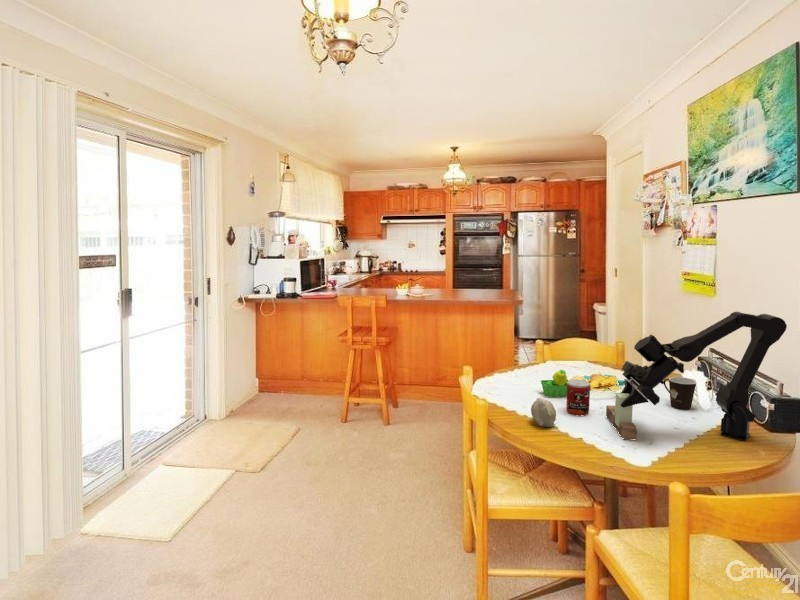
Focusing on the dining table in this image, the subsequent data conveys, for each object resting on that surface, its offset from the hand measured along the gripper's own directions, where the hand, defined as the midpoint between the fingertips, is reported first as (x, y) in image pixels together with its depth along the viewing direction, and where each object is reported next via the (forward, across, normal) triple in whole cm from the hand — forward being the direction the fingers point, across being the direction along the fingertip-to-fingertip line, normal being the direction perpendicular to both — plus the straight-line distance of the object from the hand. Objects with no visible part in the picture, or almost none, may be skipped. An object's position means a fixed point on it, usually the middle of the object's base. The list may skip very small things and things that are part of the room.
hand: (619, 404), depth 153 cm
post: (+4, 0, +6) cm, 7 cm away
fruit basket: (+16, -33, -3) cm, 36 cm away
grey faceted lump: (+23, -3, -10) cm, 25 cm away
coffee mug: (-14, -26, +27) cm, 39 cm away
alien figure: (+1, -47, +13) cm, 49 cm away
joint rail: (+5, -2, +7) cm, 9 cm away
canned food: (+13, -15, 0) cm, 20 cm away
